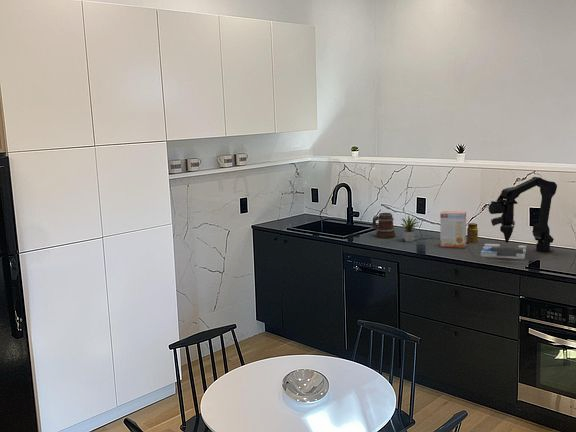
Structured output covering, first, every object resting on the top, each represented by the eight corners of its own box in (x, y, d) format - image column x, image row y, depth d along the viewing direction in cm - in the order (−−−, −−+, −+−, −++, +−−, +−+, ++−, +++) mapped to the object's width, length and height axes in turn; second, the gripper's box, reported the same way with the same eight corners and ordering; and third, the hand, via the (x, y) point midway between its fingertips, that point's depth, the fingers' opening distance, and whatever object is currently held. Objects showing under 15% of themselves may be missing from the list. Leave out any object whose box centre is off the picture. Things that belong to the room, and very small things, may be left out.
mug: (398, 235, 386) (398, 212, 383) (389, 239, 376) (389, 216, 374) (376, 233, 395) (376, 211, 393) (367, 236, 386) (367, 214, 383)
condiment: (480, 243, 355) (481, 223, 353) (471, 245, 351) (471, 226, 349) (470, 241, 361) (471, 222, 359) (461, 243, 357) (461, 224, 355)
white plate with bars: (526, 251, 334) (526, 243, 333) (524, 260, 314) (524, 252, 313) (484, 248, 343) (485, 241, 342) (480, 258, 323) (480, 250, 322)
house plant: (410, 244, 360) (410, 218, 357) (392, 241, 370) (392, 215, 367) (424, 240, 369) (424, 214, 366) (406, 237, 379) (406, 212, 376)
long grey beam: (522, 255, 322) (523, 247, 321) (522, 257, 318) (522, 249, 317) (491, 253, 328) (491, 246, 327) (491, 255, 324) (491, 248, 324)
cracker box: (466, 246, 351) (466, 211, 347) (464, 248, 345) (465, 213, 341) (442, 244, 356) (442, 210, 353) (440, 247, 351) (440, 212, 347)
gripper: (493, 209, 330) (493, 236, 333) (490, 215, 313) (489, 244, 316) (515, 209, 326) (514, 237, 329) (513, 215, 309) (512, 245, 312)
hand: (507, 240), depth 321 cm, fingers open, 8 cm apart
